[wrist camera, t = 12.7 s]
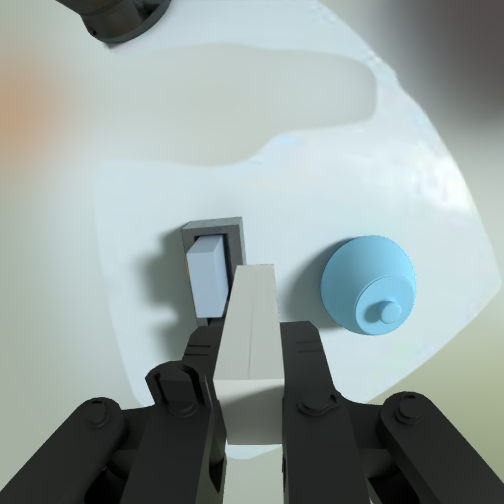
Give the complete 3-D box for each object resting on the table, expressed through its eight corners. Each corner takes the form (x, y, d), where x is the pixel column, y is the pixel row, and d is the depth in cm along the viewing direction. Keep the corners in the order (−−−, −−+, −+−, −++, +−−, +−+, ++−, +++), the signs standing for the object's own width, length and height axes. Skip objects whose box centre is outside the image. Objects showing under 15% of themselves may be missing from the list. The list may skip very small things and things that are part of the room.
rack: (188, 221, 41) (163, 242, 30) (241, 216, 40) (234, 236, 30) (210, 351, 48) (198, 394, 37) (254, 349, 47) (252, 395, 37)
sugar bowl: (412, 237, 40) (452, 261, 29) (391, 319, 45) (418, 358, 34) (326, 226, 40) (348, 251, 29) (310, 317, 45) (323, 362, 34)
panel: (204, 231, 40) (186, 253, 30) (224, 230, 40) (213, 252, 30) (210, 283, 42) (197, 317, 33) (230, 282, 42) (221, 317, 33)
